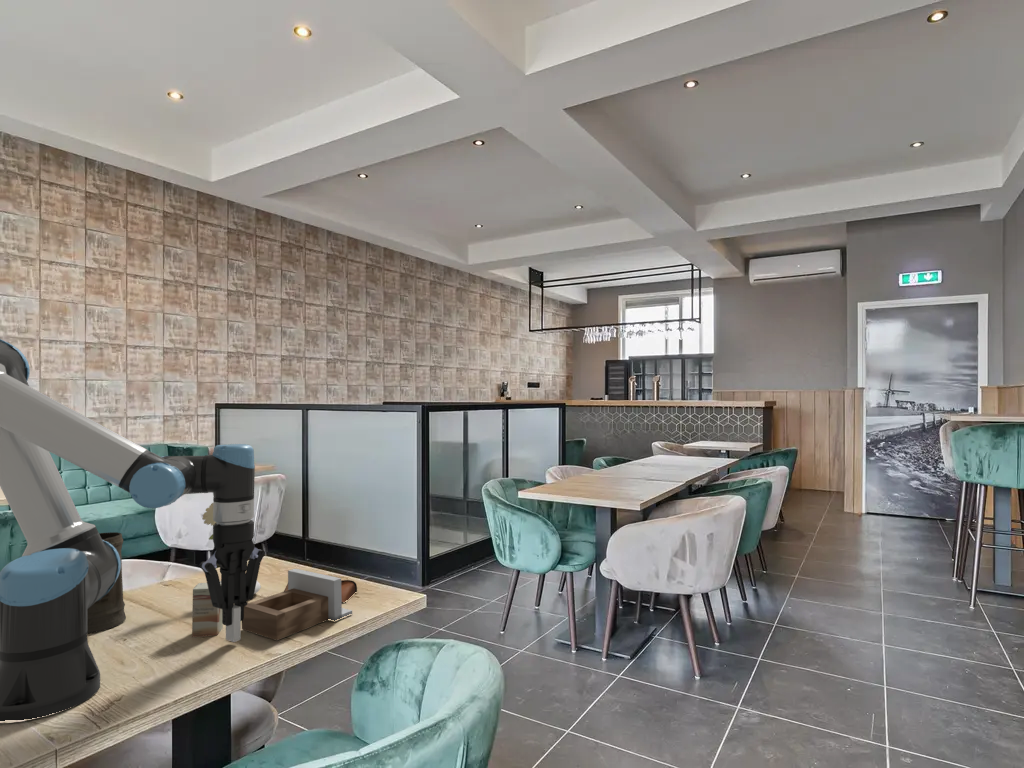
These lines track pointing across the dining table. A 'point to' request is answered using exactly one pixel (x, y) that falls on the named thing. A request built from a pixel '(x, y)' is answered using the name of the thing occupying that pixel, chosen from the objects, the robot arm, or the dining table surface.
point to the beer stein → (108, 597)
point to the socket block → (285, 613)
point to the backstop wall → (320, 589)
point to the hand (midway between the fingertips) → (233, 639)
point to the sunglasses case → (344, 589)
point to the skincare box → (205, 613)
